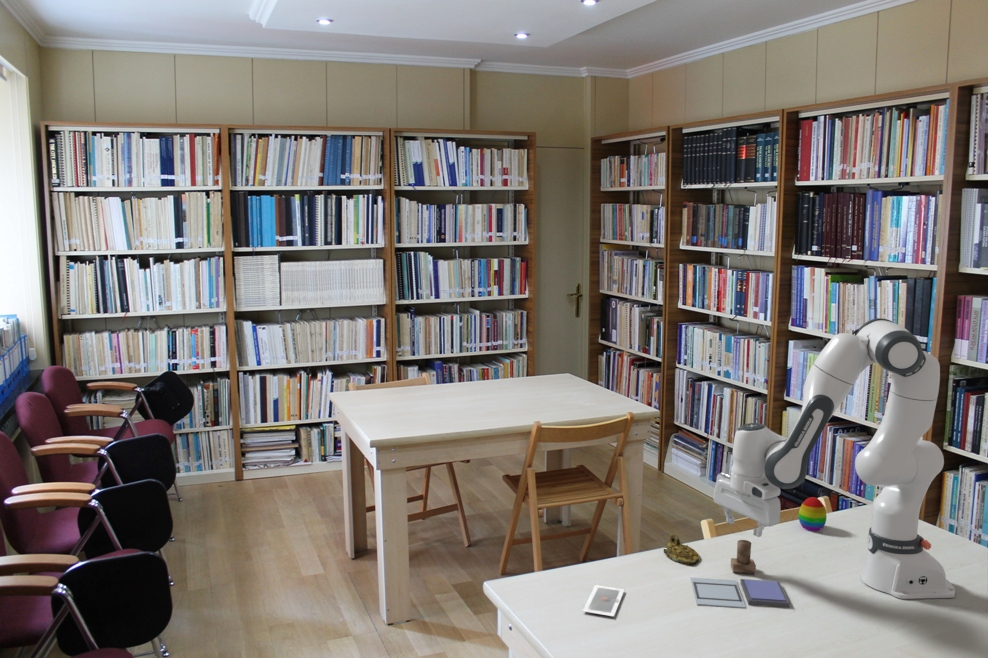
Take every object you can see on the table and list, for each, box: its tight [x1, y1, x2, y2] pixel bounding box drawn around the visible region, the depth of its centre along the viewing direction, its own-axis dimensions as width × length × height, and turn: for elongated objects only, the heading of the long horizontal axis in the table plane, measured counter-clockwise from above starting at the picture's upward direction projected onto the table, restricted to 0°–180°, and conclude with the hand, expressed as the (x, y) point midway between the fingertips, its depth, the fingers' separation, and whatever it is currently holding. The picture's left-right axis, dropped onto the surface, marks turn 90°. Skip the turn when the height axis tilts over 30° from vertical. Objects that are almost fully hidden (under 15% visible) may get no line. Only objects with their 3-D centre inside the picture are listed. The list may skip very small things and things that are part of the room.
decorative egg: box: [798, 496, 827, 532], centre depth 253 cm, size 8×8×10 cm
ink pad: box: [739, 578, 790, 608], centre depth 209 cm, size 10×12×2 cm
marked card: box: [690, 576, 747, 609], centre depth 210 cm, size 12×15×1 cm
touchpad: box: [582, 584, 625, 618], centre depth 205 cm, size 8×15×2 cm, turn 161°
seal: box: [663, 533, 701, 566], centre depth 233 cm, size 9×5×15 cm
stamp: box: [730, 539, 757, 575], centre depth 223 cm, size 6×4×8 cm, turn 83°
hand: (743, 529), depth 221 cm, fingers open, 8 cm apart
